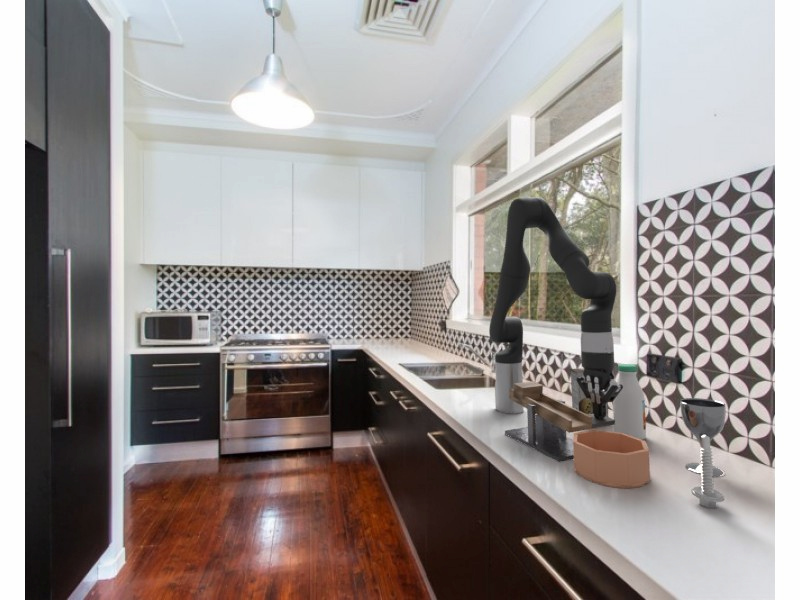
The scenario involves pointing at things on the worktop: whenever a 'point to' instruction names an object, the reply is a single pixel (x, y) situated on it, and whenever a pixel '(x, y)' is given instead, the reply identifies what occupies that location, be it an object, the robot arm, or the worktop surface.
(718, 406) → the wine glass
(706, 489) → the screw
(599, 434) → the bowl
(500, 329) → the robot arm
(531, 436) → the lever stand
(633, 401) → the milk bottle
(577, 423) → the seesaw lever
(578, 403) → the coffee box
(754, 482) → the worktop surface
